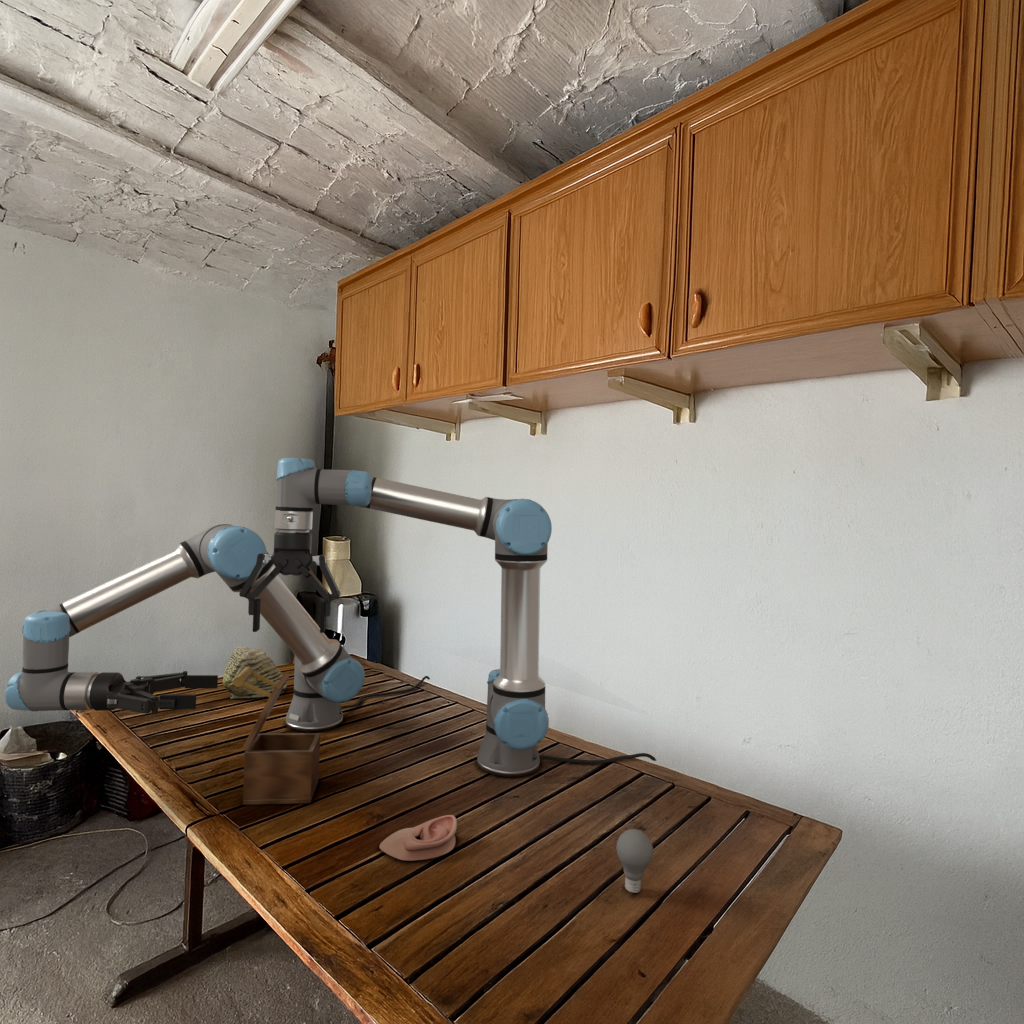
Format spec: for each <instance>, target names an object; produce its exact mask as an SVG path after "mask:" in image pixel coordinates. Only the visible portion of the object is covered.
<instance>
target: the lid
mask: <svg viewBox="0 0 1024 1024" xmlns="http://www.w3.org/2000/svg"><path fill="white" fill-rule="evenodd" d="M251 676H252V677H255V678H257V679H259V680H261V681H263V682H266V683H268V684H270V685H272V686H274V687H275V688H274V689H273V691H272V693H269V692H267V691H265V690H263V689H260V688H258V687H256V686H254V685H252V684H249V683H247V682H246V681H247V680H248V679H249V678H250V677H251ZM290 676H291V673H287V672H285V673H284V674H283V677H282V678H281V680H280V681H279V682H278V683H276V682H273V681H271V680H269V679H267V678H265V677H262V676H260V675H258V674H256V673H254V671H253V669H252V668H251V667H246V668H245V669H244V670H243V671H242V672H241V673H240V674H239V675H238V676H237V677H235V678H234V680H233V684H234V685H235V686H236V687H240V686H242V685H243V686H245V687H247V688H249V689H252V690H254V691H256V692H258V693H260V694H263V695H265V697H267V698H268V699H267V701H266V703H265V705H264V707H263V709H262V711H260V714H259V715H258V718H257V720H256V722H255V724H254V725H253V727H252V729H251V731H250V733H249V735H248V736H247V738H246V741H245V742H244V744H243V746H242V749H243V750H245V751H246V750H248V748H249V747H250V745H251V744H252V742H253V741H254V740H255V738H256V737H257V735H258V734H260V733H261V730H262V729H263V727H264V725H265V723H266V722H267V719H268V717H269V716H270V713H271V711H272V710H273V708H274V706H275V704H276V702H277V700H278V699H279V696H280V695H281V694H282V693H281V691H282V689H283V687H284V685H285V683H286V684H287V681H288V679H289V678H290Z"/></svg>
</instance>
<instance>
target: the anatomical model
mask: <svg viewBox="0 0 1024 1024" xmlns="http://www.w3.org/2000/svg"><path fill="white" fill-rule="evenodd" d="M457 830H458V820H457V818H456V816H455V815H453V814H446V815H442V816H441V815H440V816H438V817H435V818H433V819H430V820H427V821H425V822H423V823H421V824H419V825H416V826H414V827H406V828H402V829H399V830H397V831H395V832H393V833H392V834H389V835H388V836H387V837H386V838H385V839H384V840H382V841H381V842H380V844H379V850H381V852H383V853H384V854H386V855H388V856H390V857H392V858H394V859H397V860H400V861H403V862H414V861H423V860H429V859H430V860H431V859H434V858H439V857H441V856H444V855H446V854H448V853H450V852H451V851H452V850H453V849H454V848H455V846H456V842H457V841H456V836H455V835H456V833H457Z"/></svg>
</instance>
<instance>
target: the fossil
mask: <svg viewBox="0 0 1024 1024" xmlns="http://www.w3.org/2000/svg"><path fill="white" fill-rule="evenodd" d="M246 667H251V668H252V669H253V671H254V673H256V674H258V675H260V676H262V677H265V678H267V679H269V680H271V681H273V682H276V683H278V682H279V681H280V680H281V678H282V677H283V676H284V674H283V673H282V672H281V669H279V668H278V667H277V665H276V663H275V662H274V660H273V659H272V658H271V657H270V656H269V655H268V654H267V653H266V652H265V650H264V649H263V648H260V647H258V648H251V647H247V646H246V647H245V646H238V647H237V648H236V649H235V650H233V651H232V653H231V656H230V657H229V659H228V660H227V663H226V666H225V668H224V671H223V675H222V676H223V677H222V685H223V687H224V688H225V690H226V691H228V693H229V698H230V699H250V698H264V697H266V696H265V695H263V694H260V693H258V692H256V691H254V690H252V689H249V688H247V687H245V686H243V685H242V686H240V687H236V686H235V685H234V684H233V680H234V678H235V677H237V676H238V675H239V674H240V673H241V672H242V671H243V670H244V669H245V668H246ZM246 682H247V683H249V684H252V685H254V686H256V687H258V688H260V689H263V690H265V691H267V692H269V693H272V691H273V689H274V688H275V687H274V686H272V685H270V684H268V683H266V682H263V681H261V680H259V679H257V678H255V677H252V676H251V677H250V678H249V679H248V680H247V681H246ZM287 687H288V686H287V682H286V683H285V685H284V687H283V689H282V691H281V693H280V694H284V693H285V691H286V689H287Z"/></svg>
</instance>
